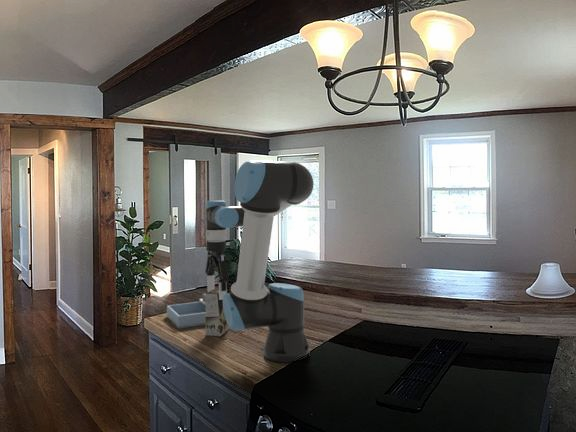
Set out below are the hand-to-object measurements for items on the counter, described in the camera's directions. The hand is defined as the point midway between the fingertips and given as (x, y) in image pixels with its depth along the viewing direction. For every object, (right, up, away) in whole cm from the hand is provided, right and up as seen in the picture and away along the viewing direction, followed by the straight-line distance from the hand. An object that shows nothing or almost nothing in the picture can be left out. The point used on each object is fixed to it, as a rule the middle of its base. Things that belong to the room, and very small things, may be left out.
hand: (216, 295), depth 168 cm
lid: (+1, -8, +25) cm, 27 cm away
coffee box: (0, -15, 0) cm, 15 cm away
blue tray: (-12, -14, +19) cm, 26 cm away
